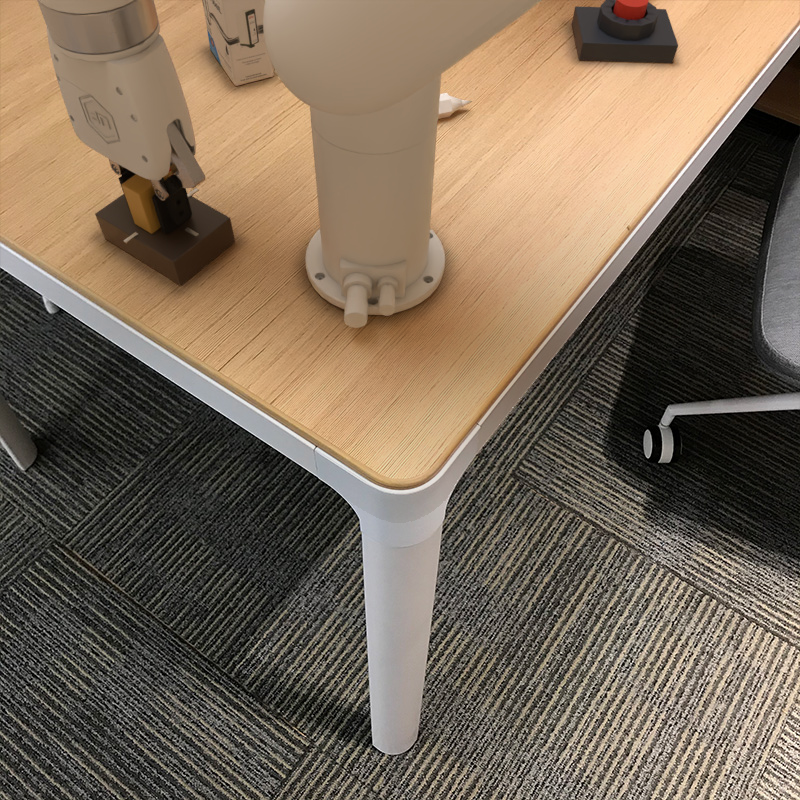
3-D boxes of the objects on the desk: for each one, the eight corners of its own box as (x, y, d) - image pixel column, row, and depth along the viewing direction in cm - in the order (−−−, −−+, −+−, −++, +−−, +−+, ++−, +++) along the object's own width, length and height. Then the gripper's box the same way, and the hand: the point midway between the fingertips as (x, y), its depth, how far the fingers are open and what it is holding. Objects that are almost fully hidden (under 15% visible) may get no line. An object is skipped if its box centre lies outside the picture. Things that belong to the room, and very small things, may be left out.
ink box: (209, 49, 90) (188, -58, 80) (249, 39, 91) (233, -67, 81) (234, 88, 85) (216, -21, 76) (276, 77, 87) (263, -31, 77)
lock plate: (242, 237, 72) (237, 210, 69) (173, 292, 68) (165, 266, 65) (166, 193, 75) (158, 167, 72) (96, 244, 71) (85, 217, 68)
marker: (471, 115, 84) (331, 141, 81) (466, 97, 84) (326, 122, 81) (478, 103, 82) (334, 130, 78) (473, 85, 82) (328, 111, 78)
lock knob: (151, 234, 67) (138, 192, 63) (134, 224, 68) (119, 181, 64) (189, 206, 69) (178, 164, 66) (172, 196, 70) (160, 154, 66)
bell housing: (672, 63, 90) (683, 30, 87) (578, 60, 90) (586, 27, 86) (660, 26, 94) (670, -7, 91) (571, 23, 94) (578, -9, 91)
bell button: (646, 22, 88) (651, 7, 87) (615, 21, 88) (619, 6, 87) (641, 5, 90) (645, -10, 89) (611, 5, 90) (614, -11, 89)
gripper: (-19, -4, 55) (67, 199, 70) (142, 79, 49) (198, 279, 64) (65, -44, 58) (129, 158, 73) (224, 29, 53) (258, 230, 68)
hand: (161, 213), depth 69 cm, fingers open, 3 cm apart
